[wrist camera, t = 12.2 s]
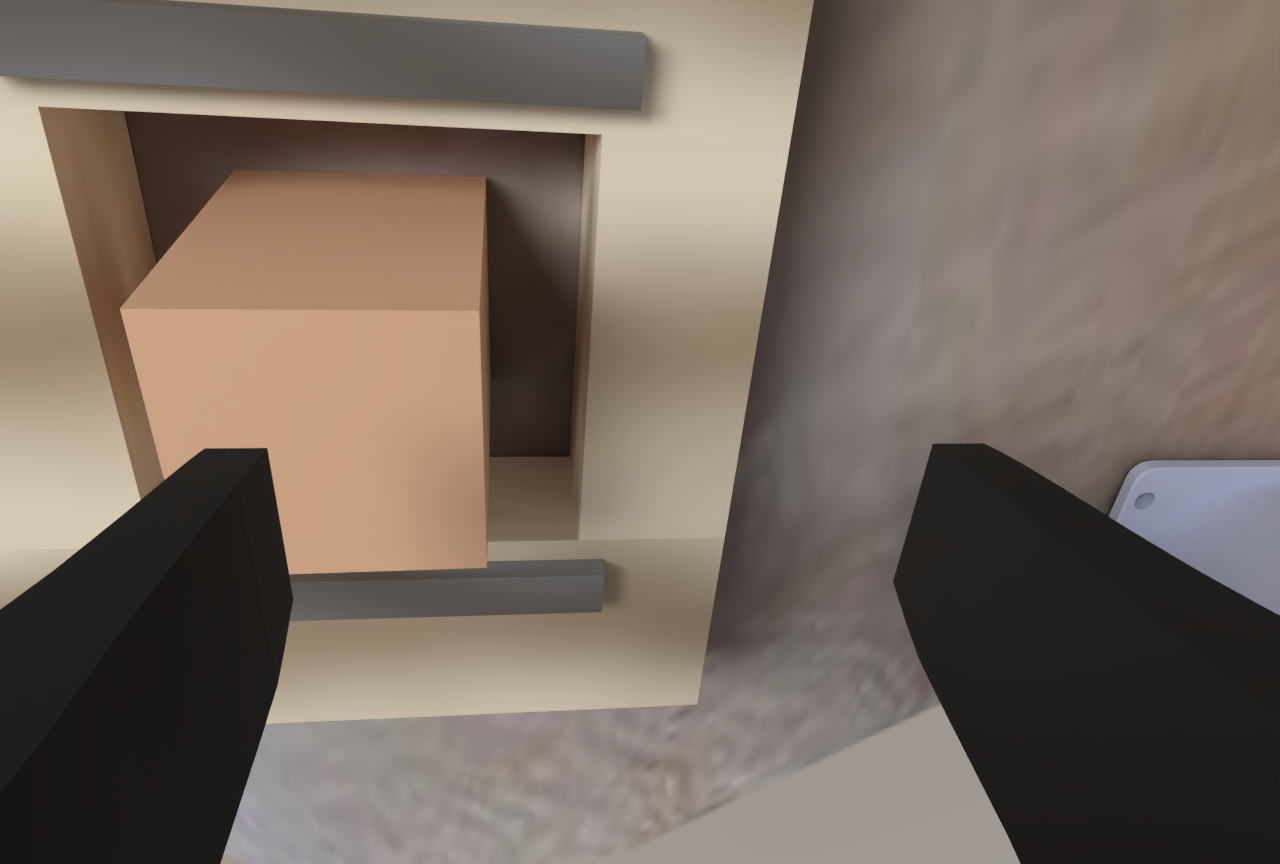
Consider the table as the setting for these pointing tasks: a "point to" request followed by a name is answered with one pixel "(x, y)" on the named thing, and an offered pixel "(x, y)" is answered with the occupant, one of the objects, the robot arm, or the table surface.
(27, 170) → the slotted wooden holder
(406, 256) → the block
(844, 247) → the table surface
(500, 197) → the table surface
